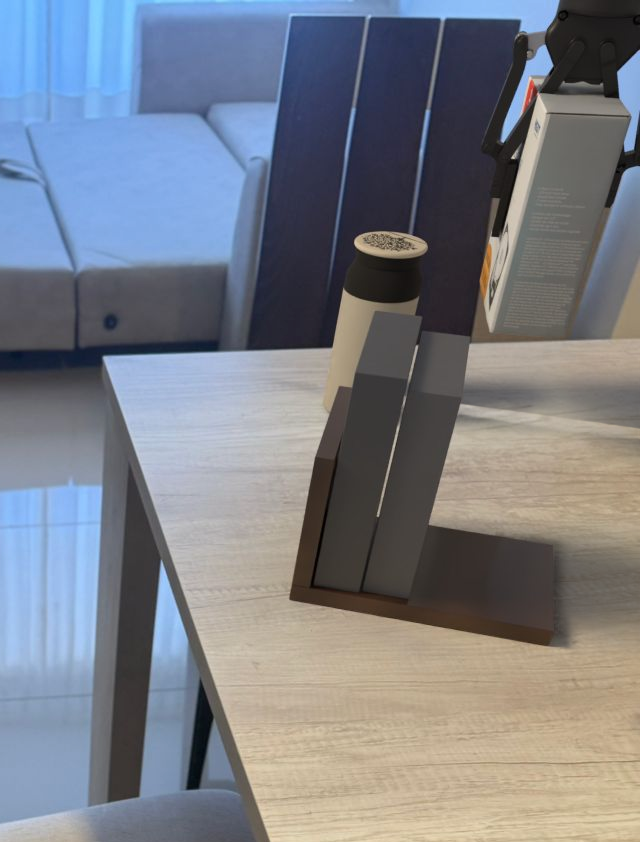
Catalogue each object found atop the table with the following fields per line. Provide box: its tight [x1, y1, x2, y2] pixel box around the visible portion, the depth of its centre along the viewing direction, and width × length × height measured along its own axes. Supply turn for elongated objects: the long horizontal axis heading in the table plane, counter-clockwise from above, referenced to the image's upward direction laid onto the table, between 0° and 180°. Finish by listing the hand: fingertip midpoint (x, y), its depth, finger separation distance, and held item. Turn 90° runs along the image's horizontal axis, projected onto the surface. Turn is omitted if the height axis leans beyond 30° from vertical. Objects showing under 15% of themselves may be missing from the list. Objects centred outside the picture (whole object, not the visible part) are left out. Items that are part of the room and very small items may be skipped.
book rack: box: [288, 386, 555, 647], centre depth 101 cm, size 22×15×14 cm
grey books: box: [313, 311, 471, 599], centre depth 99 cm, size 8×14×19 cm, turn 162°
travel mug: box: [322, 231, 429, 413], centre depth 126 cm, size 8×8×18 cm
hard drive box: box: [479, 74, 633, 339], centre depth 114 cm, size 16×8×20 cm, turn 168°
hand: (539, 237), depth 116 cm, fingers closed on hard drive box, 8 cm apart
